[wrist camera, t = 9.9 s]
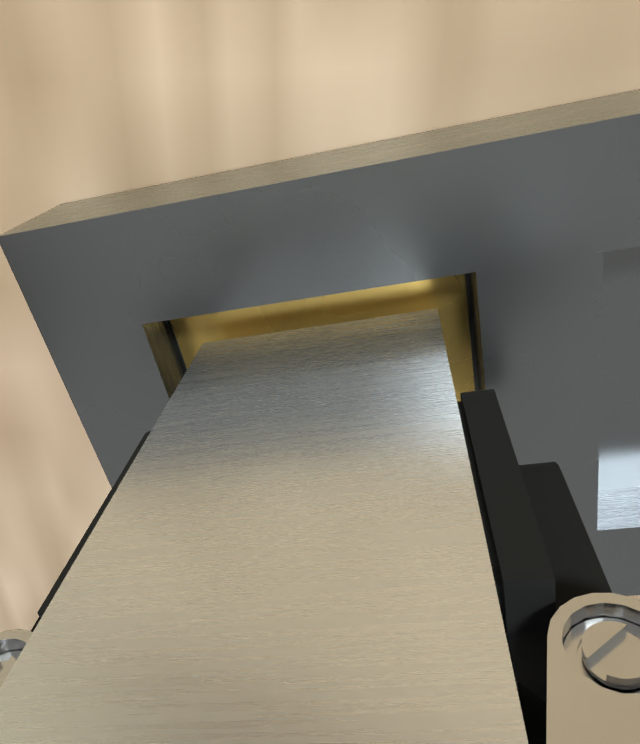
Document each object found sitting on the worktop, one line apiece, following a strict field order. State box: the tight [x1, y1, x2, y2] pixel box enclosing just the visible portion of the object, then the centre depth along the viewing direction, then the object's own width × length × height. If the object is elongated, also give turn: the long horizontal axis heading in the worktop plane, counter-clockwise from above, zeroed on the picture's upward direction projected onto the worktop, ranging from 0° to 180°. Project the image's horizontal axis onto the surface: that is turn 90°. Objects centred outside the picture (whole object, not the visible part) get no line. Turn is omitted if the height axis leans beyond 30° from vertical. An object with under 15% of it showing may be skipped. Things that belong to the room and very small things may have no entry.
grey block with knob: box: [0, 309, 528, 744], centre depth 9 cm, size 4×4×8 cm
